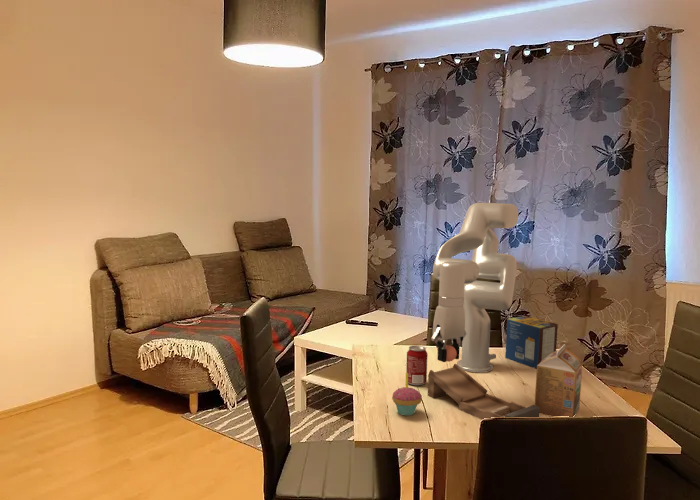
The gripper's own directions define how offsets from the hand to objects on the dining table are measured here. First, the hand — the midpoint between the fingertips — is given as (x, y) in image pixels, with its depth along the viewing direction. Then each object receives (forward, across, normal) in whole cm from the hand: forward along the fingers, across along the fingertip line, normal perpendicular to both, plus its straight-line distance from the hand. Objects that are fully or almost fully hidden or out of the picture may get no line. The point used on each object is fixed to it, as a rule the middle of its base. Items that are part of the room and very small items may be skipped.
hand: (448, 359), depth 176 cm
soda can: (+12, 0, -13) cm, 18 cm away
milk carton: (+12, -19, +27) cm, 35 cm away
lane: (+12, -1, +13) cm, 17 cm away
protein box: (+11, -52, -6) cm, 53 cm away
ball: (+1, 0, 0) cm, 1 cm away
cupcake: (+12, +19, +3) cm, 23 cm away
